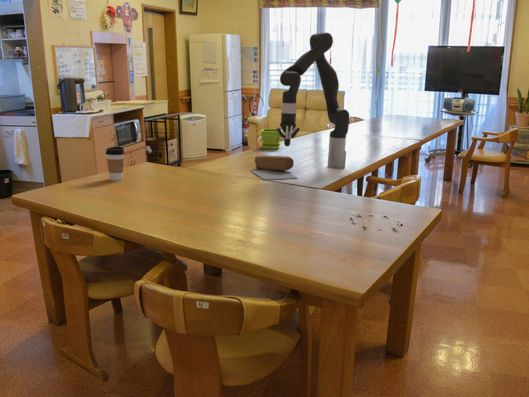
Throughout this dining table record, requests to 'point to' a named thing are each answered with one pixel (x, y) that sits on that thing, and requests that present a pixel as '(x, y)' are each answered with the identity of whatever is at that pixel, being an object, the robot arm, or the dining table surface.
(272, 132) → the flower pot
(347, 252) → the dining table surface
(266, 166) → the sandstone rock
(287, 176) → the mat
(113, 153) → the coffee cup
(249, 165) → the dining table surface
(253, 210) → the dining table surface
